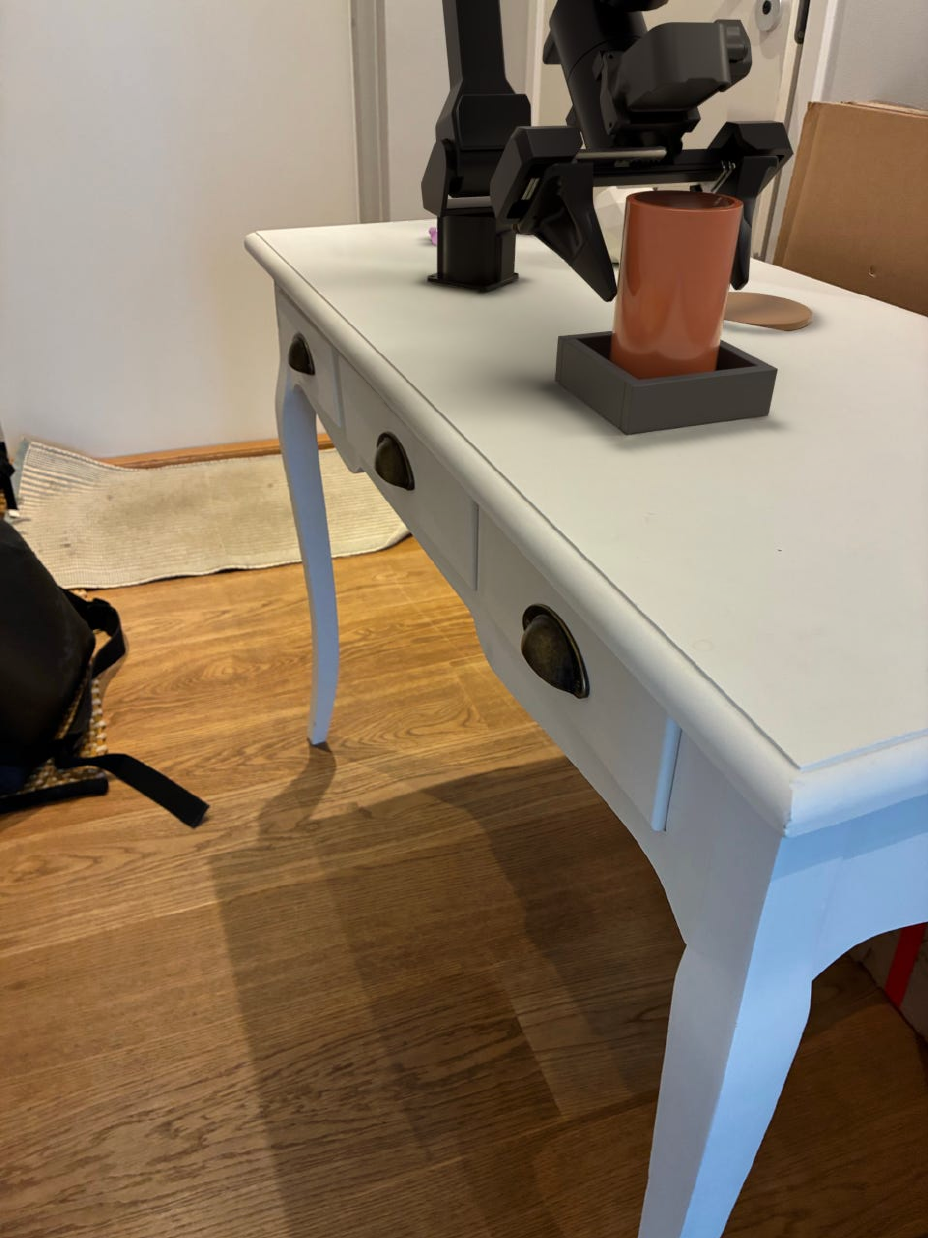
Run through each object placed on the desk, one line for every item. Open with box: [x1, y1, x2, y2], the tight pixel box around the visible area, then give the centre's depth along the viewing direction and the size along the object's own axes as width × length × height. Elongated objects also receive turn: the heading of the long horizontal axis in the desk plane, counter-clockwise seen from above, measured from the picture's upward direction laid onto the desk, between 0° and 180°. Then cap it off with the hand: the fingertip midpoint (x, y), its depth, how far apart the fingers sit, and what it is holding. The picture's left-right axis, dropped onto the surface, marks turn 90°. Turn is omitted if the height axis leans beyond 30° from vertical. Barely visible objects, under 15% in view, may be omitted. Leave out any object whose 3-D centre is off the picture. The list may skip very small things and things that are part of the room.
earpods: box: [428, 226, 437, 246], centre depth 102 cm, size 3×2×2 cm
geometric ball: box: [593, 186, 654, 264], centre depth 94 cm, size 8×8×8 cm
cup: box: [609, 189, 743, 380], centre depth 59 cm, size 7×7×12 cm
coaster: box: [724, 291, 813, 332], centre depth 81 cm, size 10×10×1 cm
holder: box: [554, 330, 779, 436], centre depth 61 cm, size 10×10×4 cm
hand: (678, 292), depth 58 cm, fingers open, 9 cm apart
